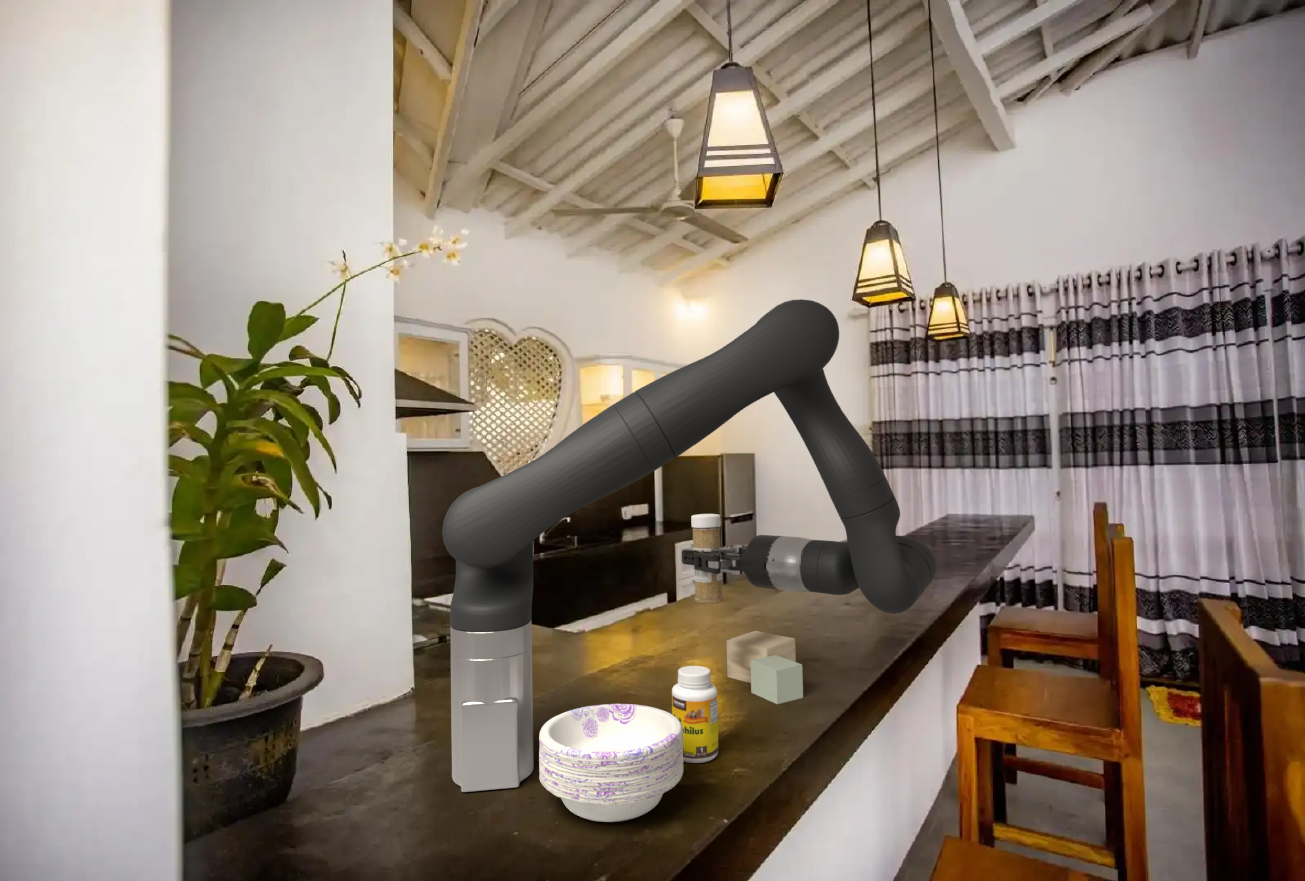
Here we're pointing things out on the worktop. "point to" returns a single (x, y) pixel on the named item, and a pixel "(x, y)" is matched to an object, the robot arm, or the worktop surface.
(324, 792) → the worktop surface
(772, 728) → the worktop surface
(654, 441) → the robot arm
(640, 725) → the paper bowls
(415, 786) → the worktop surface
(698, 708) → the supplement bottle
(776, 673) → the sage block
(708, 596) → the brown spice jar
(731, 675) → the beech pedestal
